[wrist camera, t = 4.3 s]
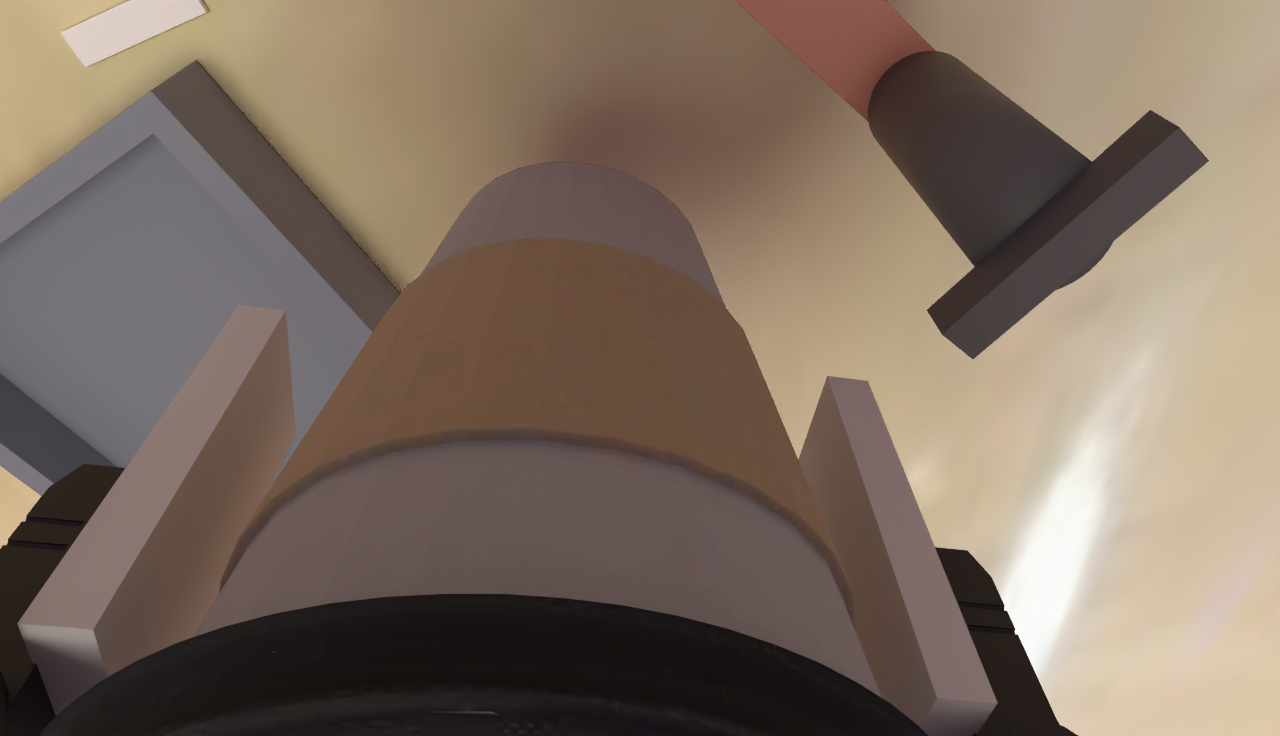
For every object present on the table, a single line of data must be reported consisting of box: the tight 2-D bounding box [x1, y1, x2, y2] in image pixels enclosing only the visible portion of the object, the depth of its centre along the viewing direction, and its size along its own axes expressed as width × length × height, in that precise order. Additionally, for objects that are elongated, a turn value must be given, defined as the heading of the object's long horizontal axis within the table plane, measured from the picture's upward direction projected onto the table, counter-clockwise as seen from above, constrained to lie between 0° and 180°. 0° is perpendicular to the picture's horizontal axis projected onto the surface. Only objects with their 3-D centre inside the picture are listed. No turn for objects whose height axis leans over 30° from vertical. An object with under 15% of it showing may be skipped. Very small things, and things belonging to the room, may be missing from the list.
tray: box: [0, 60, 400, 496], centre depth 29 cm, size 14×14×3 cm
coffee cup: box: [39, 162, 928, 736], centre depth 13 cm, size 9×9×15 cm
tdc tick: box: [60, 0, 209, 67], centre depth 24 cm, size 4×1×1 cm, turn 111°
